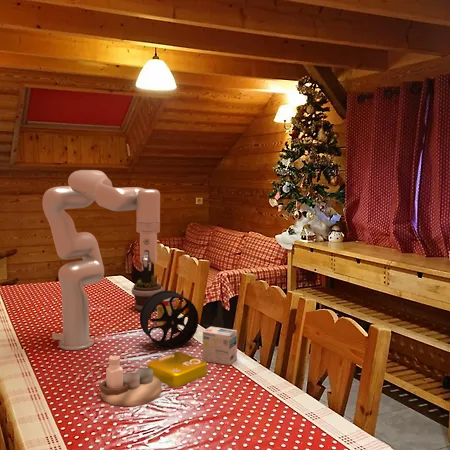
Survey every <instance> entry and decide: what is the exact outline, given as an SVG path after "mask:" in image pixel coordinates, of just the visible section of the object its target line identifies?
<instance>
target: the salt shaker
mask: <svg viewBox="0 0 450 450" xmlns="http://www.w3.org/2000/svg"><path fill="white" fill-rule="evenodd" d="M120 364H121V358H120V356H119V355H112V356H109V357H108V366H109V367H107V368H106V370H105V374H106V376H105V378H106V380H105V381H106V386H107V388H120V387H122V386H123V374H124V368H123V367H121V365H120Z"/></svg>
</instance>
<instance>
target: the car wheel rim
mask: <svg viewBox="0 0 450 450" xmlns="http://www.w3.org/2000/svg"><path fill="white" fill-rule="evenodd" d="M168 298H171V299H170V300H169V303H170V307H171V310H172V313H171V316H169V315H168V312H167V309H166V306H165V304H164V303H161V302H162V301H163V300H166V299H168ZM174 298H176V299H182V300H183V301H184V302H185V305H184V306H182V307H181V308H180V309H177V308H176V309H174V308H173V306H172V300H173V299H174ZM159 304H162V307H163V309H164V314H163V315H162V317H161V318H157V317H156V318H152V314H153V313H154V312H155V311H154V310H155V308H156V307H157V306H158V305H159ZM187 309H188V311H187V312H186V313H184V312H185V311H186V310H187ZM183 313H184V315H182V316H181V317H179V316H180V315H181V314H183ZM186 318H187V320H186ZM185 320H186V323H185ZM160 321H165V322H166V324H164V325H160V326H157V325H155V326H151V327H150V328H149V322H152V323H157V322H160ZM199 322H200V321H199V314H198V310H197V308H196V306H195V304H194V303H193V302H192V301H191V300H189V299H188V298H186V297H184V296H183V295H182V294H180V293H179V292H176V291H174V290H173V291H172V290H163V291H160V292H157V293H155V294H154V295H152V296H151V297H150V298H148V299H147V301H146V302H145V303H144V305H143V307H142V309H141V311H140V312H139V323H140V324H139V325H140V328H141V329H142V331H143V333H144V334H145V335H146V336H147V337H148V338H149V339H150V341H151V342H152V343H153V344H155V346H157V347H158V348H160V349H164V350H176V349H179V348H182V347H183V346H185V345H187V344H188V343H189V342H190V341H191V340H192V338H193V337H194V336H195V334H196V332H197V330H198V327H199ZM178 326H182V327H183V328H182V329H179V327H178ZM157 329H160V330H161V331H162V332H163V335H162V337H161V340H159V339H156V338H154V337H152V335H151V332H152V331H153V330H157ZM169 331H170V334H169V339H167V336H168V333H169ZM174 335H175V336H174Z"/></svg>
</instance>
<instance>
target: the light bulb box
mask: <svg viewBox="0 0 450 450" xmlns="http://www.w3.org/2000/svg"><path fill="white" fill-rule="evenodd" d="M237 359H238V330H237V329H232V328H231V329H230V328H223V327H218V326H217V327H216V326H209V327H207V328H206V329H204V330H202V360H203V361H206V362H210V363H214V364H215V363H216V364H220V365H225V366H230V365H231V364H233V363H235V361H237Z"/></svg>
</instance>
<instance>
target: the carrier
mask: <svg viewBox="0 0 450 450" xmlns="http://www.w3.org/2000/svg"><path fill="white" fill-rule="evenodd" d="M162 383H163V382H161V381H160V380H159V379H158V378H157V377H155V376H153V370H152V369H150V368H147V367H142V368H141V367H140V368H138V369H136V372H127V373H123V386H122V387H120V388H107V386H106V380H104V381H102V382H101V383H100V386H99V392H100V398H101V399H102V400H103V401H104V402H106V403H107V404H110V405H114V406H117V407H133V406H140V405H141V406H142V405H145V404H148V403H151V402H152V401H154V400H157V399H158V398H159V397H160V395H161V394H162V391H163V389H162V387H163V386H162Z"/></svg>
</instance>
